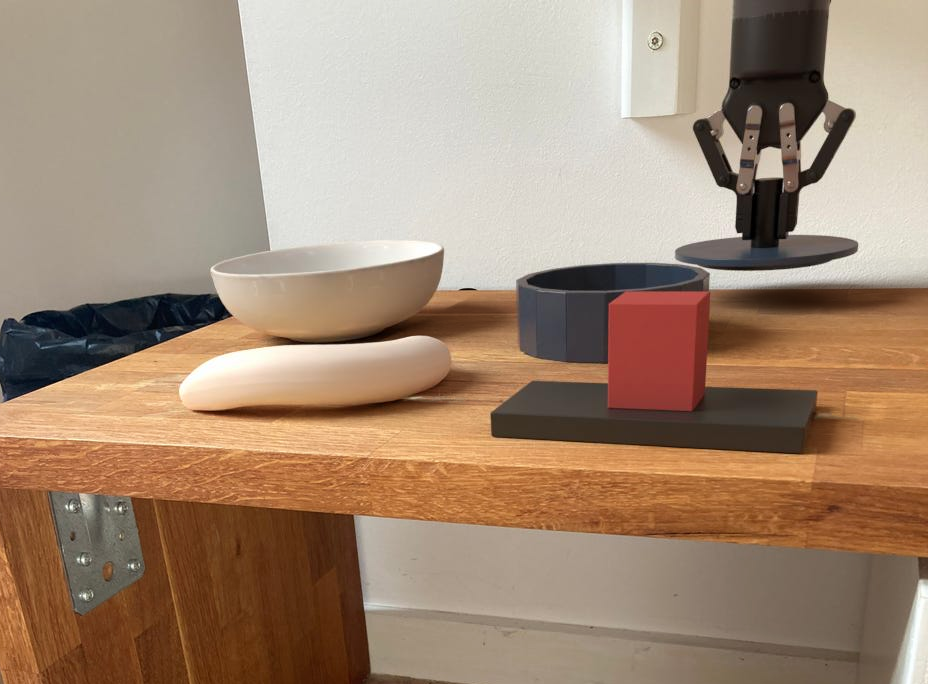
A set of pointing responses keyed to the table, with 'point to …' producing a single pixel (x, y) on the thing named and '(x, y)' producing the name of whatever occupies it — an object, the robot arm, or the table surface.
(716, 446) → the board
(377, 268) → the serving bowl
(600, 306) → the pot
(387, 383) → the banana
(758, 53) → the robot arm
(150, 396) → the table surface
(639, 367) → the red chamfered block
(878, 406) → the table surface
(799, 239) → the pot lid
